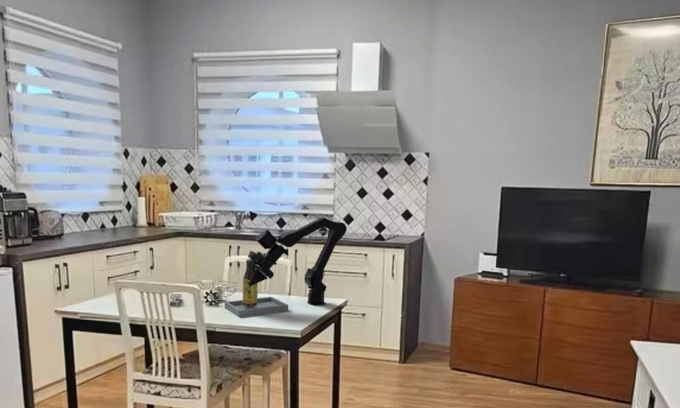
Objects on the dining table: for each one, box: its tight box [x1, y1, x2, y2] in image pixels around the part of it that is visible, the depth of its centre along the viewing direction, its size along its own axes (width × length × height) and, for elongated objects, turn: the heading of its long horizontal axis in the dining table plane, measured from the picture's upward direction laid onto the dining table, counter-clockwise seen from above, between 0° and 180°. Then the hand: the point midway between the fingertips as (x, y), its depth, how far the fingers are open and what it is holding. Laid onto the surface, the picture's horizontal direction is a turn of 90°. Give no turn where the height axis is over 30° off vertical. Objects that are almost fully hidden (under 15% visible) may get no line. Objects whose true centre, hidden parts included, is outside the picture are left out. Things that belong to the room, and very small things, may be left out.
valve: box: [203, 284, 224, 306], centre depth 226 cm, size 7×7×12 cm
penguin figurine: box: [170, 294, 183, 305], centre depth 225 cm, size 6×8×12 cm
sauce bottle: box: [242, 258, 259, 307], centre depth 213 cm, size 7×6×20 cm
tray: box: [224, 296, 289, 318], centre depth 215 cm, size 22×17×2 cm
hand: (247, 283), depth 212 cm, fingers closed on sauce bottle, 6 cm apart
